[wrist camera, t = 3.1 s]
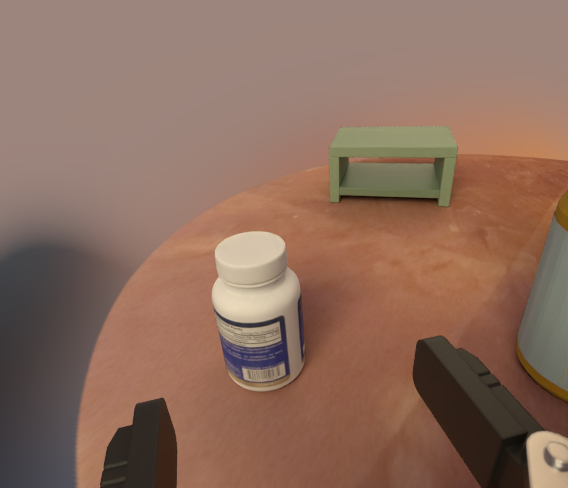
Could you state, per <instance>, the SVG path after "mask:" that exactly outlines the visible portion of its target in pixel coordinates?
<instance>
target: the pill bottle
mask: <svg viewBox="0 0 568 488" xmlns="http://www.w3.org/2000/svg"><path fill="white" fill-rule="evenodd" d="M215 260H216V267H217V272H218V275H219V277H218V279H217V280H216V282H215V284H214V286H213V289H212V301H213V307H214V312H215V316H216V321H217V326H218V330H219V335H220V339H221V344H222V349H223V354H224V358H225V363H226V367H227V371H228V373H229V375H230V377H231V378H232V380H233V381H234V382H235V383H237V384H238V385H239V386H241V387H243V388H245V389H248V390H252V391H260V392H261V391H271V390H276V389H278V388H281V387H283V386H285V385H287V384H289V383H290V382H291V381H293V380H294V379H295V378H296V377H297V376H298V375H299V373H300V372H301V370H302V368H303V366H304V362H305V343H304V329H303V314H302V300H301V288H300V283H299V280H298V277H297V276H296V274H295V273H294V272H293V271H292V270H291V269H290V268H289V267H287V265H288V264H287V252H286V245H285V242H284V241H283V239H282V238H281V237H279V236H277V235H275V234H272V233H269V232H261V231H253V232H244V233H240V234H236V235H233V236H231V237H229V238H227V239H225V240H223V241H222V242H221V243H220V244H219V245H218V246H217V248H216V250H215Z"/></svg>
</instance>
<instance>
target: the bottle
mask: <svg viewBox="0 0 568 488" xmlns="http://www.w3.org/2000/svg"><path fill="white" fill-rule="evenodd" d="M516 353H517V356H518V358H519V360H520V362H521V363H522V365H523V367H524V368H525V369H526V371H527V372H528V373H529V374H530V376H531V377H532V378H533V379H534V380H535V381H536V382H537V383H538V384H539V385H540V386H541V387H543V388H544V389H545V390H547V391H548V392H550V393H551V394H553V395H554V396H556V397H557V398H559V399H561V400H563V401H565V402H567V403H568V190H567V191H566V193H565V194H564V195H563V196H562V198H561V199H560V200H559V202H558V205H557V208H556V211H555V213H554V216H553V219H552V223H551V226H550V229H549V233H548V236H547V239H546V243H545V246H544V249H543V253H542V256H541V259H540V262H539V266H538V269H537V272H536V276H535V279H534V282H533V286H532V289H531V292H530V296H529V299H528V302H527V306H526V309H525V312H524V315H523V319H522V322H521V325H520V329H519V332H518V336H517V340H516Z"/></svg>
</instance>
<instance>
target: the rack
mask: <svg viewBox="0 0 568 488" xmlns="http://www.w3.org/2000/svg"><path fill="white" fill-rule="evenodd" d="M457 151H458V146H457V144H456V142H455V140H454V138H453V135H452V133H451V131H450V128H449V126H421V127H345V128H340V130H339V131H338V133H337V135H336V136H335V138H334V140H333V141H332V143H331V145H330V147H329V185H330V202H339V201H340V198H341V195H353V196H384V197H415V198H437V202H438V206H445V207H449V204H450V197H451V191H452V184H453V178H454V171H455V165H456V157H457ZM349 157H406V158H435V162H434V164H418V163H349Z"/></svg>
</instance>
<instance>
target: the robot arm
mask: <svg viewBox="0 0 568 488" xmlns="http://www.w3.org/2000/svg"><path fill="white" fill-rule="evenodd" d="M413 380H414V384H415V387H416V389H417V391H418V393H419V395H420V396H421V398H422V399H423V401H424V402H425V404H426V405H427V407H428V408H429V410H430V411H431V413H432V414H433V416H434V417H435V419H436V420H437V422H438V423H439V425H440V426H441V428H442V429H443V431H444V432H445V434H446V435H447V437H448V438H449V440H450V441H451V443H452V444H453V446H454V447H455V449H456V450H457V452H458V453H459V455H460V456H461V458H462V459H463V461H464V462H465V464H466V465H467V467H468V468H469V470H470V471H471V473H472V474H473V476H474V477H475V479H476V480H477V482H478V483H479V485H480V486H481V488H568V438H566V437H564V436H562V435H560V434H557V433H554V432H549V431H546V430H545V429H544V428H542V427H541V426H540V425H539V423H538V422H537V421H536V420H535V419H534V418H533V417H532V416H531V415H530V414H529V413H528V412H527V411H526V409H525V408H524V407H523V406H522V405H521V404H520V403H519V402H518V401H517V400H516V399H515V398H514V396H513V395H512V394H511V393H510V392H509V391H508V390H507V389H506V388H505V387H504V386H503V385H501V384H500V381H499V380H498V379H497V378H496V377H495V376H494V375H493V374H491V373H490V371H489V370H488V368H487V367H486V366H485V365H484V364H483V363H482V362H481V361H480V360H479V359H478V358H477V357H475V356H474V355H472V354H470V353H469V352H467V351H465V350H464V349H462V348H460V349H455V348H454V347H453V346H452V345H451V344H450V343H449V341H448V340H447V339H446V338H445V337H443V336H435V337H431V338H426V339H422V340H419V341H418V342H417V344H416V351H415V359H414V367H413ZM103 468H104V471H103V472H102V477H101V483H100V485H101V487H100V488H177V442H176V435H175V430H174V427H173V424H172V421H171V418H170V415H169V412H168V409H167V406H166V402H165V400H164V398H159V399H155V400H151V401H146V402H142V403H138V404H136V406H135V410H134V417H133V424H132V425H130V426H126V427H122V428H118V430H117V431H116V433H115V435H114V437H113V438H112V440H111V442H110V443H109V445H108V447H107V451H106V456H105V462H104V467H103Z"/></svg>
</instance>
